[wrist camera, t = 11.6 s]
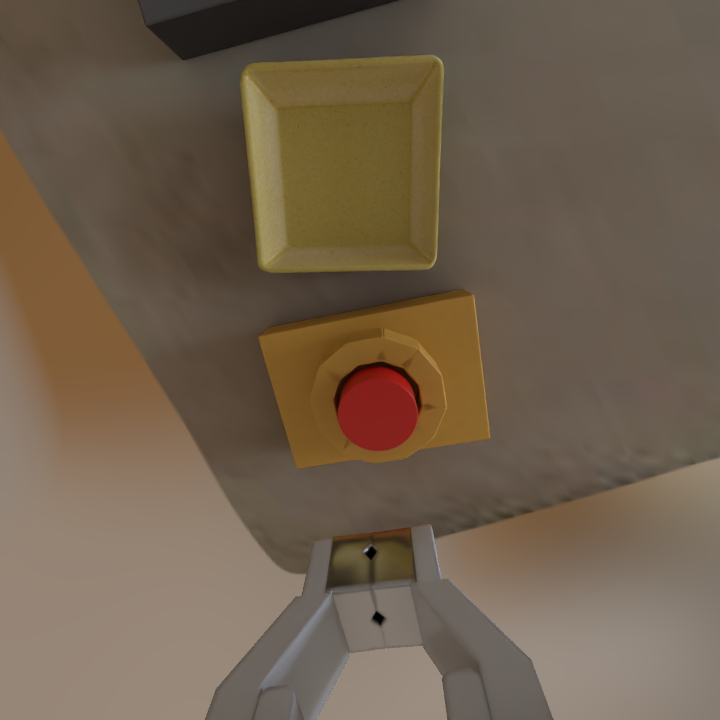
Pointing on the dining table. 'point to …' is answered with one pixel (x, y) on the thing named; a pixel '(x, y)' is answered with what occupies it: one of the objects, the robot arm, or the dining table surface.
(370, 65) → the yellow square tray
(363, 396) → the stop button
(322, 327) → the yellow button base
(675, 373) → the dining table surface
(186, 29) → the panel
